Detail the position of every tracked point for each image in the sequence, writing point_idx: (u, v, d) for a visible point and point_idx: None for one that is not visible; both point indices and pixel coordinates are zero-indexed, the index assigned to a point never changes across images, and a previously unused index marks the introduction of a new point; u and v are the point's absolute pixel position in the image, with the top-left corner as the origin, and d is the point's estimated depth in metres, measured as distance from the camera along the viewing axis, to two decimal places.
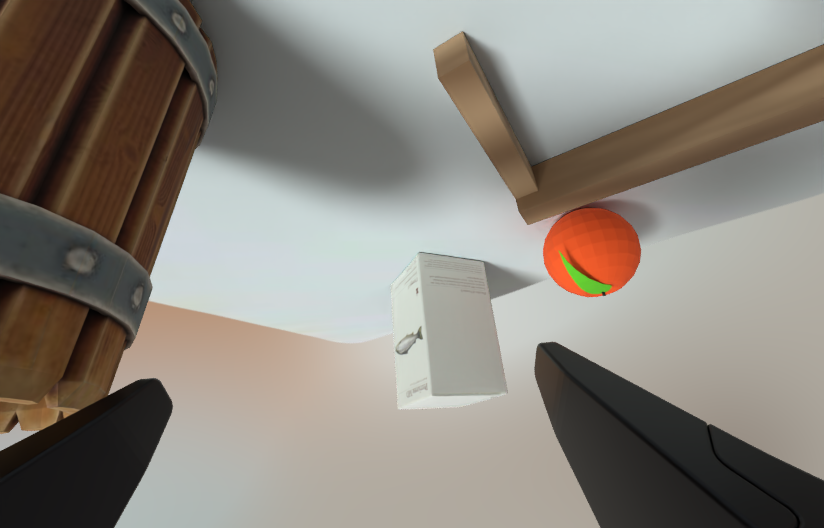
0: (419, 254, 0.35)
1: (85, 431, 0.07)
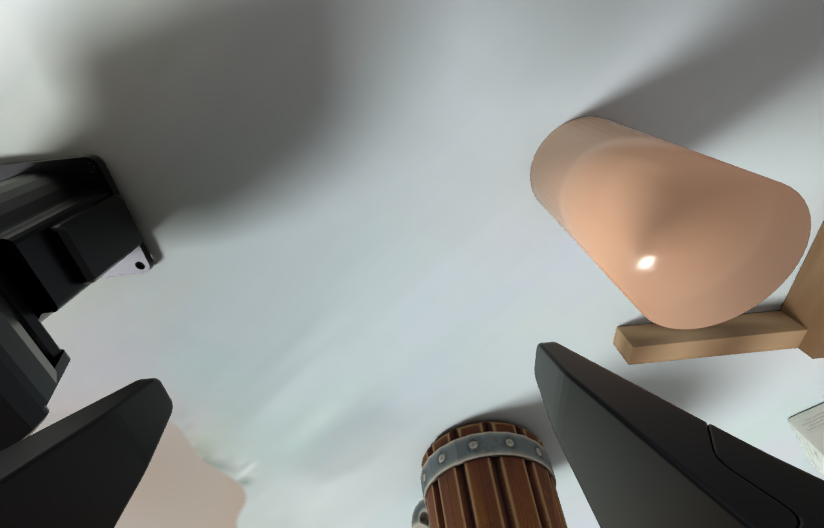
0: (790, 421, 0.32)
1: (85, 431, 0.07)
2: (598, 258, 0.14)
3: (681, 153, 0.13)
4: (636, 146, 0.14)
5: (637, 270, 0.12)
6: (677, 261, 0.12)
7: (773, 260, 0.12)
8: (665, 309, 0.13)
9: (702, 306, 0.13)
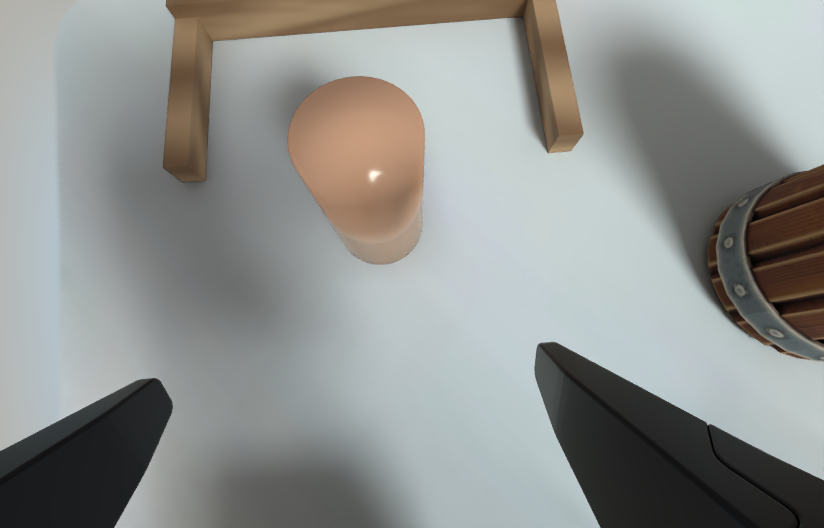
0: None
1: (85, 430, 0.07)
2: (387, 215, 0.16)
3: None
4: None
5: (358, 195, 0.14)
6: (352, 166, 0.14)
7: (357, 95, 0.15)
8: (401, 160, 0.14)
9: (399, 131, 0.15)
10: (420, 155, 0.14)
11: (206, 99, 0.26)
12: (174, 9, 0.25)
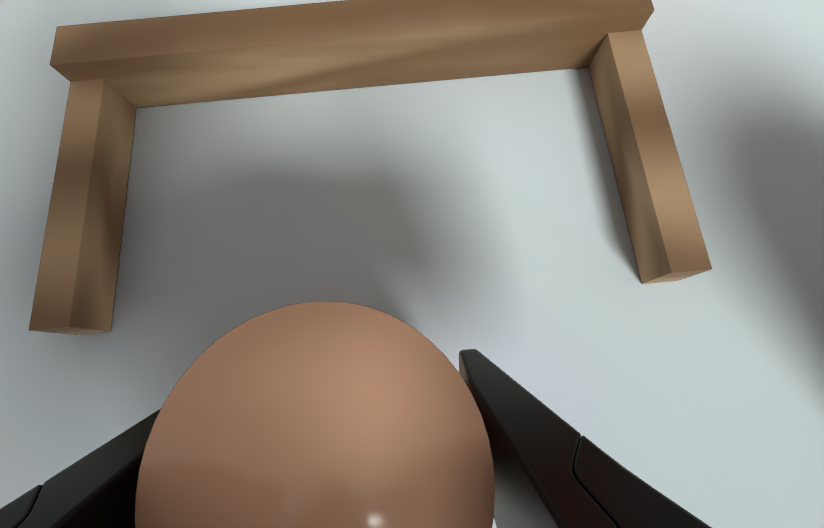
0: None
1: None
2: None
3: None
4: None
5: None
6: None
7: (319, 355, 0.06)
8: None
9: (428, 468, 0.06)
10: None
11: (118, 201, 0.17)
12: (65, 69, 0.17)
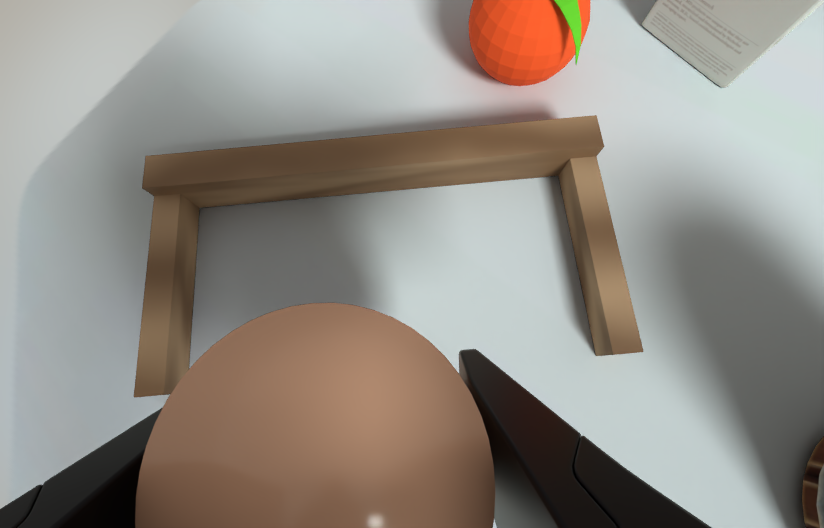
0: (725, 86, 0.25)
1: None
2: None
3: None
4: None
5: None
6: None
7: (319, 356, 0.06)
8: None
9: (428, 469, 0.06)
10: None
11: (190, 288, 0.22)
12: (152, 190, 0.21)
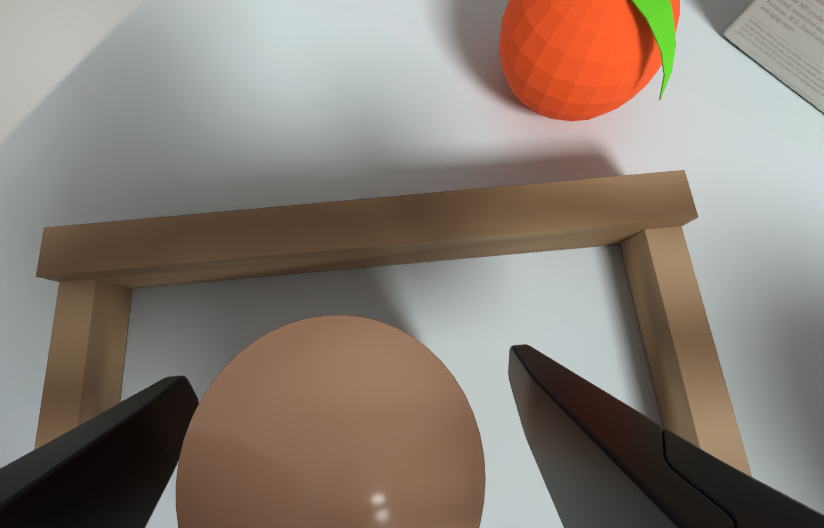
0: None
1: (119, 428, 0.07)
2: None
3: None
4: None
5: None
6: None
7: (333, 362, 0.07)
8: None
9: (428, 460, 0.06)
10: (477, 527, 0.06)
11: None
12: (53, 277, 0.15)
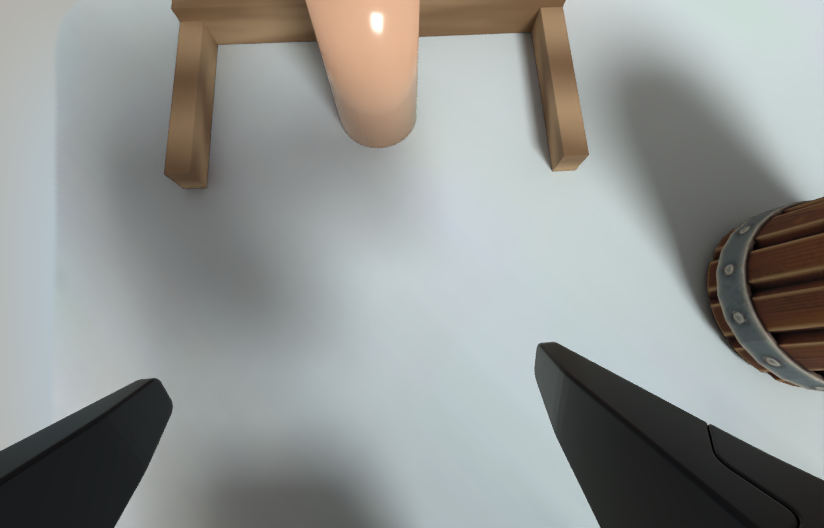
0: None
1: (85, 431, 0.07)
2: (385, 57, 0.18)
3: None
4: (323, 60, 0.21)
5: (361, 17, 0.16)
6: None
7: None
8: None
9: None
10: None
11: (209, 105, 0.26)
12: (180, 12, 0.25)
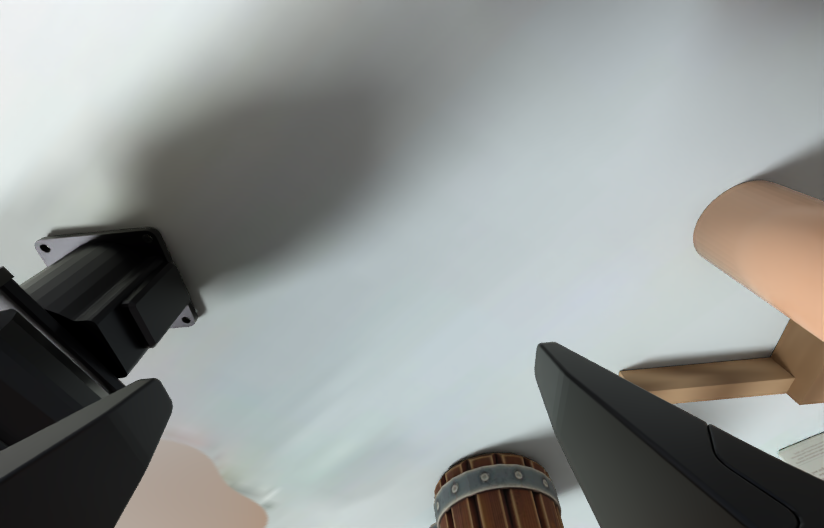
0: (780, 454, 0.34)
1: (85, 430, 0.07)
2: (817, 322, 0.16)
3: None
4: None
5: None
6: None
7: None
8: None
9: None
10: None
11: None
12: None
